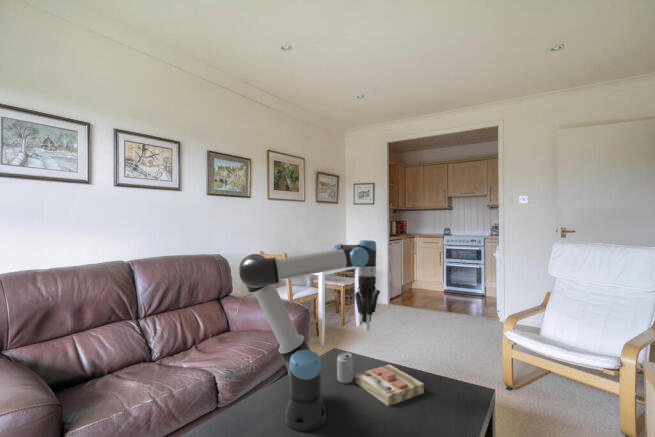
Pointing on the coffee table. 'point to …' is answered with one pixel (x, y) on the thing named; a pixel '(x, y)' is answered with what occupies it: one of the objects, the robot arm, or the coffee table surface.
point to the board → (389, 386)
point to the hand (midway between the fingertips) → (366, 329)
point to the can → (345, 368)
